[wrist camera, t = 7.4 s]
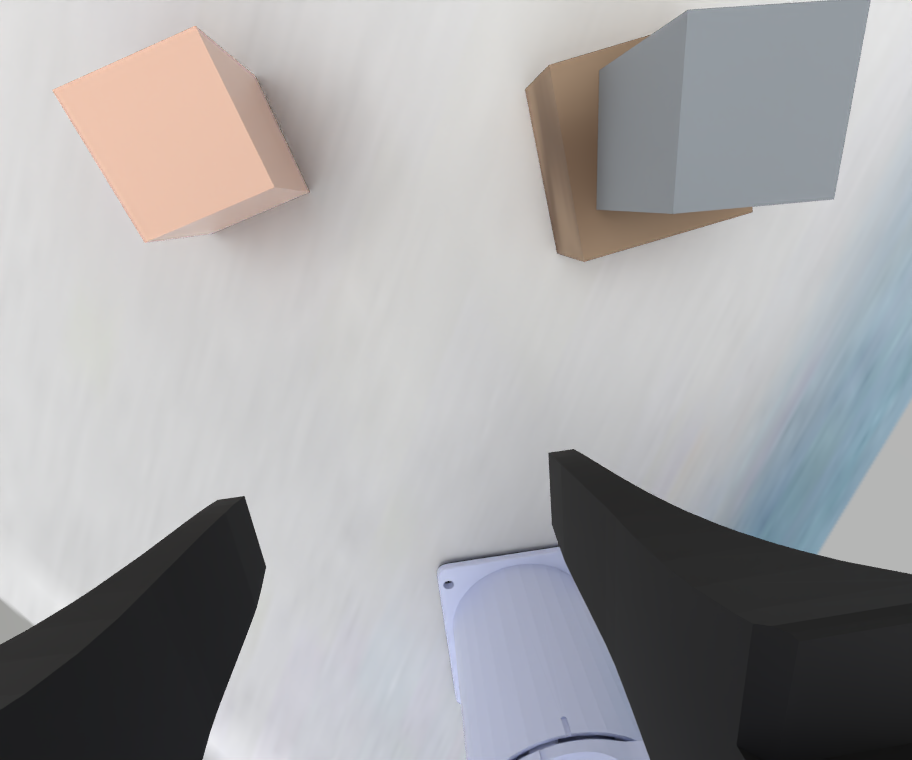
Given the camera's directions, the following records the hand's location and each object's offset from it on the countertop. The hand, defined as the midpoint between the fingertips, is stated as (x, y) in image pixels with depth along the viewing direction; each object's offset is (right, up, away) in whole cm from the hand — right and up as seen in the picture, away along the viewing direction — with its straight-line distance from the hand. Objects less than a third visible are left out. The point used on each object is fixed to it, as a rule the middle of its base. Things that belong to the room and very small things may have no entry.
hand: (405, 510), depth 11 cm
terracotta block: (-7, +11, +6) cm, 14 cm away
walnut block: (+7, +12, +7) cm, 16 cm away
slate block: (+8, +11, +4) cm, 14 cm away
